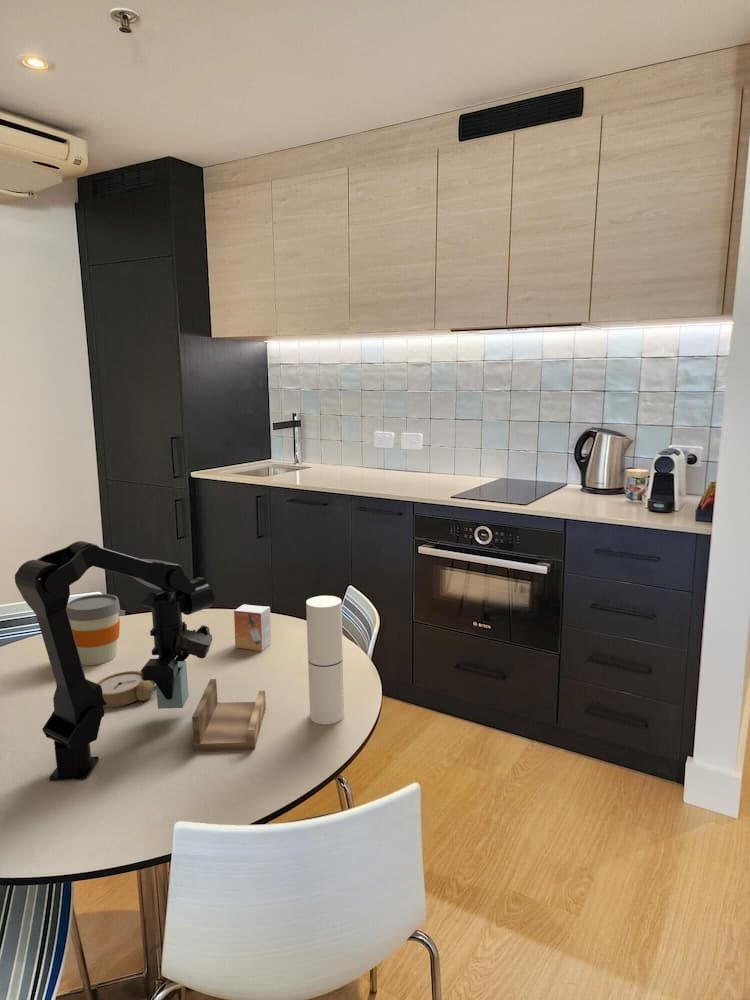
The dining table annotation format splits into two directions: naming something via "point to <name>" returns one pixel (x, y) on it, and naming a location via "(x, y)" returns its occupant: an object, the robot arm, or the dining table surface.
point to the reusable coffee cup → (95, 627)
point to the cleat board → (226, 722)
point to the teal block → (176, 690)
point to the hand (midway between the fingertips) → (172, 693)
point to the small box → (252, 627)
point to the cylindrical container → (325, 659)
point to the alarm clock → (125, 688)
